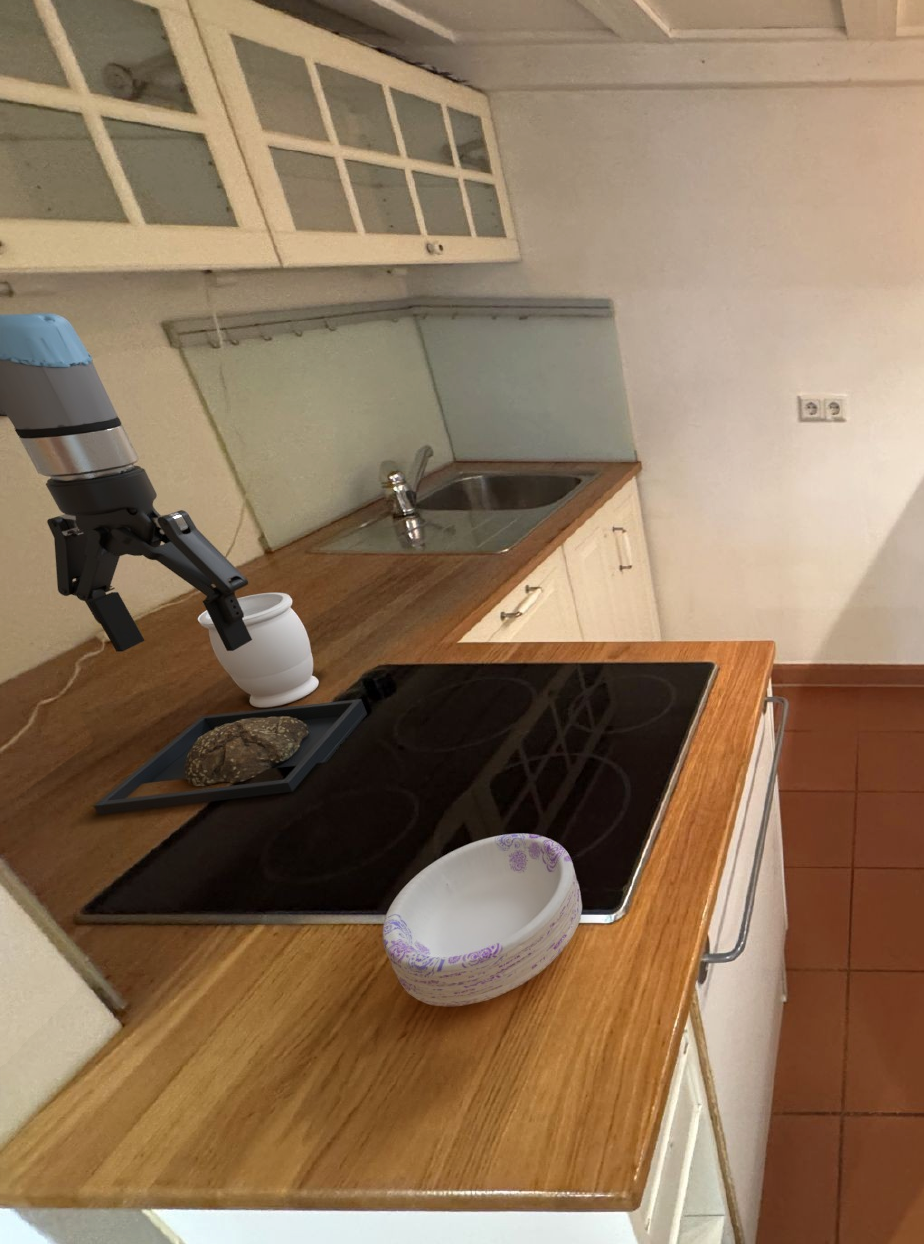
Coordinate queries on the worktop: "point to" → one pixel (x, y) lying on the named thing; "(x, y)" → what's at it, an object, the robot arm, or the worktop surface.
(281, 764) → the bread tray
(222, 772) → the bread roll
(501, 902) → the paper bowls
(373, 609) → the worktop surface
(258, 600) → the jar
